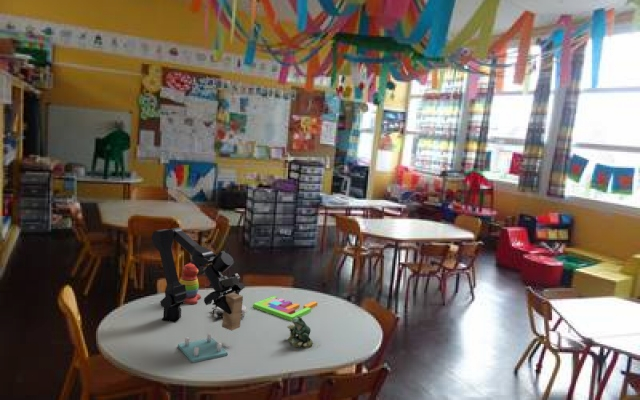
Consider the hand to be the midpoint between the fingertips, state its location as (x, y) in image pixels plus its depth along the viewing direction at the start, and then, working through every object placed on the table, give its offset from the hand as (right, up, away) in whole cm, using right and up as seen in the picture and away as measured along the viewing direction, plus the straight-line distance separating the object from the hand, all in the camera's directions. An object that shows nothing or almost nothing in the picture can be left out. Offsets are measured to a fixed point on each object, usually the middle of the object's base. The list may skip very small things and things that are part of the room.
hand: (235, 311), depth 199 cm
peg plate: (-11, -13, -7) cm, 19 cm away
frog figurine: (+25, -15, +9) cm, 30 cm away
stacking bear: (-30, -4, +43) cm, 52 cm away
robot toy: (-8, -8, +29) cm, 31 cm away
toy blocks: (+18, -9, +46) cm, 50 cm away
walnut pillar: (-2, -6, +2) cm, 7 cm away
